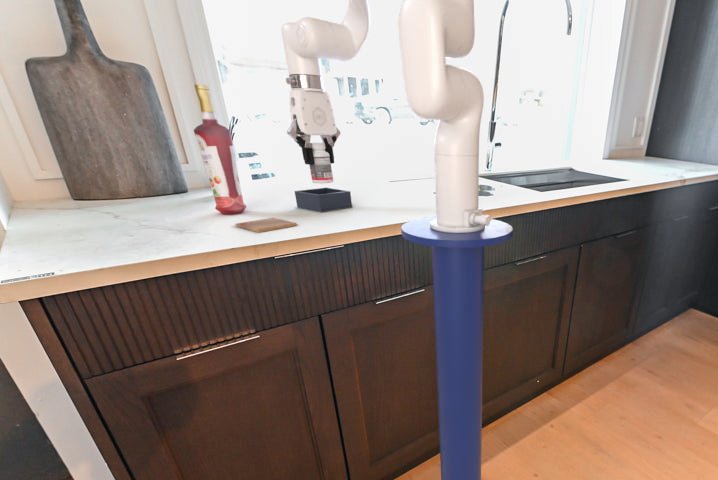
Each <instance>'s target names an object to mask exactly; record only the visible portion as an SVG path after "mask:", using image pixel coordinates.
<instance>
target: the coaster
mask: <svg viewBox="0 0 718 480" xmlns="http://www.w3.org/2000/svg"><path fill="white" fill-rule="evenodd" d="M297 225H298V224H297V222H293V221H289V220H285V219H281V218H276V217H268V218H263V219H257V220H250V221H244V222H243V221H242V222H238V223H235V224H234V226H235V227H237V228H240V229H244V230H248V231H252V232H255V233H256V232H257V233H263V232H269V231H274V230H281V229H285V228H291V227H296V226H297Z"/></svg>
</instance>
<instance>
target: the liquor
mask: <svg viewBox="0 0 718 480" xmlns="http://www.w3.org/2000/svg"><path fill="white" fill-rule="evenodd" d="M193 85H194V90H195V94H196V96H197V98H198V101H199V106H200V113H201V119H202V123H201V124H199V125H197V126H196V127H195V128H194V129H193V133H194V137H195V139H196V140H195V141H196V143H197V146H198V149H199V153H200V155H201V159H202V162H203V165H204V168H205V171H206V173H207V174H206V175H207V178H208V181H209V185H210V188H211V192H212V195H213V198H214V202H215V206H214V207H215V208H214V209H215V210H216V211H218V212H219V213H220V214H222V215H238V214H242V213H243V212H244V211H245V209H246V208H247V207H248V206H247V205H246V204H245V203H244V197H243V193H242V189H241V183H240V177H239V172H238V167H237V166H238V165H237V161H236V154H235V153H236V152H235V149H234V143H233V138H232V132H231V130H230V129H229V128H228V127H226V126H224V125H222V124H219V122H218V119H217V115H216V113H215V110H214V107H213V103H212V98H211V97H212V96H211V92H210V91H211V90H210V87H209V85H207V84H193Z"/></svg>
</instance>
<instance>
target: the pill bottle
mask: <svg viewBox="0 0 718 480" xmlns="http://www.w3.org/2000/svg"><path fill="white" fill-rule="evenodd" d="M310 148H312V151H313V157H314V163H315V164H314V165H309V170H310V176H311V182H312V183H313V184H331V183H333V182H334V176H333V170H332V163H331V162H330V156H329V153H328V152H326V151H325V149H326V147H325V143H323V142H310Z"/></svg>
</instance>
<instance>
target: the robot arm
mask: <svg viewBox="0 0 718 480" xmlns="http://www.w3.org/2000/svg"><path fill="white" fill-rule="evenodd" d="M397 22H398V23H397V24H398V25H397V27H398V40H399V49H400V59H401V70H402V71H401V72H402V81H403V88H404V93H405V98H406V101H407V104H408V106H409V107H410V109H411V110H412V112H413V113H414V114H415V115H416V116H418V117H420V118H422V119H425V120H433V121H438V123H437V125H436V130H435V134H434V141H433V150H434V153H433V154H434V155H433V157H434V181H435V182H434V183H435V209H436V211H435V213H436V217H437V219H434V220H432V221H431V222H430V227H431V228H432V229H433V230H436V231H440V232H448V233H470V232H476V231H480V230H483V229H484V228H485V225H486V226H488V225H489V224H490V221H491V219H492V216H491V215H488V214H483V208H482V207H479V179H480V178H479V177H480V176H479V175H480V174H479V172H480V170H479V169H480V131H481V122H482V116H483V111H484V102H485V95H484V89H483V86H482V84H481V83H482V82H481V81H480V80H479V78H478V77H477V75H476V74H474V73H473V72H472V71H470V70H469V69H466V68H464V67H461V66H456V65H452V64H447V63H446V61H447V59H453V60H461V59H463V58H466V57H467V56H469V55H470V53H471V51H472V50H473V48H474V44H475V37H476V36H475V35H476V31H475V30H476V29H475V28H476V27H475V26H476V25H475V2H474V0H402V1H401V5H400V7H399V13H398V21H397ZM370 27H371V9H370V4H369V0H348V7H347V10H346V13H345V15H344V17H343V19H342V21H341V22H340V23H337V22H332V21H328V20H325V19H320V18H315V17H310V16H307V17H302V18H300V19H298V20H297V21H296V22H286V23H284V24H283V25H282V26H281V36H282V43H283V48H284V53H285V60H286V65H287V70H288V77H286V79H285V82H286V84H288V85H290V88H291V90H289V112H290V119H291V123H290V125H289V126H288V129H287V131H286V134H287V135H288V136H289V137H290V138H291V139H292V140H294V142H295V143H296V144H297V145H298V146H299V148H301V151H302V152H301V153H302V158H303V161H304V164H305V165H309V166H310V165H314V164H315V163H314V157H313V151H312V148H310V143H311V136H320V138H321V141H322V143H325V147H326V149H325V151H326V152H328V153H329V156H330V162H331V164H335V155H334V147H335V143H336V142H337V140H338V138H339V137H340V136H341V131H340V129H339V128H338V127H337V124H336V119H335V114H334V109H333V106H332V102H331V98H330V96H329V92H326V91H325V85H324V80H323V73H322V66H321V60H320V59H322V60H330V61H335V62H341V63H347V62H350V61H352V60H354V59H355V58H356V57H357V56H358V54H359V53H360V52H361V49H362V48H363V46H364V44H365V42H366V40H367V39H368V36H369V32H370V29H371V28H370Z"/></svg>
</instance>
